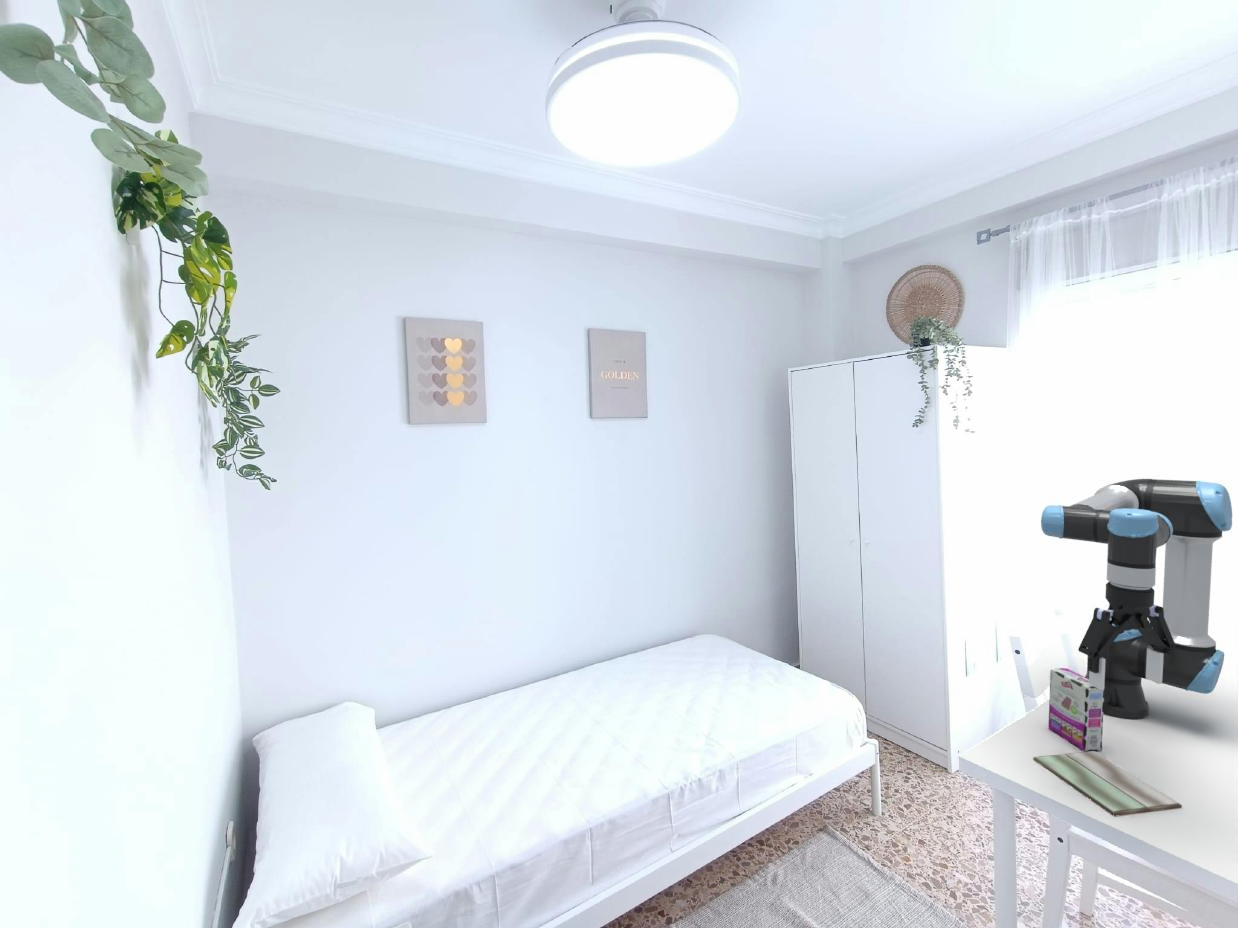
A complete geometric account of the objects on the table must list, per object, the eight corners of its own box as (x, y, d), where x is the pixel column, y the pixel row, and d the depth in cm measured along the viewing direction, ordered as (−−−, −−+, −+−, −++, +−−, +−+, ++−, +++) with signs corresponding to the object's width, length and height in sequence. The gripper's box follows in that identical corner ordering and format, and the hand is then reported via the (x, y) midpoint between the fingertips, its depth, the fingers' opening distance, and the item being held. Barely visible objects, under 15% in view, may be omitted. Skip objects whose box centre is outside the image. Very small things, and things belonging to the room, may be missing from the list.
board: (1092, 752, 141) (1092, 749, 141) (1181, 807, 122) (1181, 803, 122) (1033, 759, 140) (1033, 756, 139) (1113, 815, 120) (1114, 812, 120)
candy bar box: (1103, 751, 142) (1106, 686, 141) (1084, 752, 142) (1087, 687, 140) (1064, 726, 153) (1067, 666, 152) (1047, 728, 153) (1049, 668, 152)
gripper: (1163, 575, 125) (1158, 670, 126) (1059, 583, 121) (1056, 680, 123) (1202, 585, 117) (1196, 686, 119) (1093, 594, 114) (1088, 697, 116)
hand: (1125, 683), depth 121 cm, fingers open, 13 cm apart
